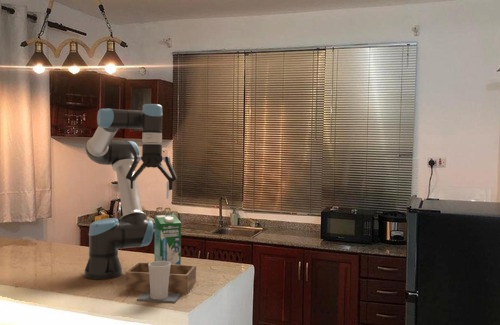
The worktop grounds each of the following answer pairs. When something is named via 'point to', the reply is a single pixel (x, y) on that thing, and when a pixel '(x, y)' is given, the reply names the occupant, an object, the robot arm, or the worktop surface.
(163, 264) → the cup
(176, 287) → the crate
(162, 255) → the milk carton
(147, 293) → the slate mat
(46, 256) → the worktop surface
